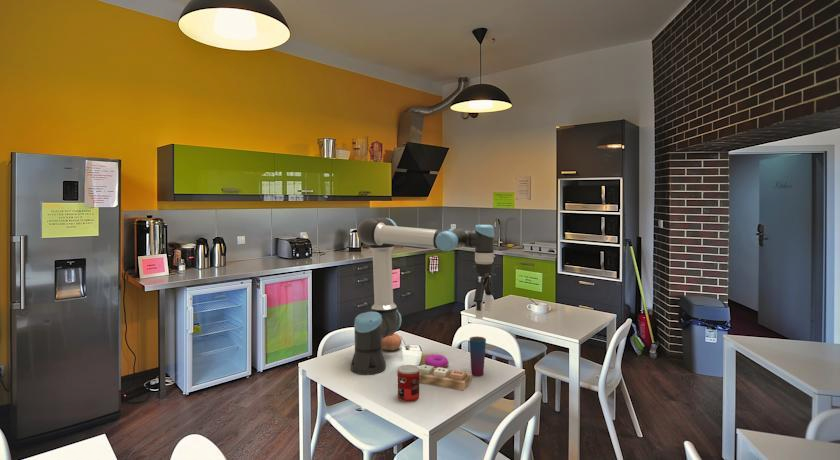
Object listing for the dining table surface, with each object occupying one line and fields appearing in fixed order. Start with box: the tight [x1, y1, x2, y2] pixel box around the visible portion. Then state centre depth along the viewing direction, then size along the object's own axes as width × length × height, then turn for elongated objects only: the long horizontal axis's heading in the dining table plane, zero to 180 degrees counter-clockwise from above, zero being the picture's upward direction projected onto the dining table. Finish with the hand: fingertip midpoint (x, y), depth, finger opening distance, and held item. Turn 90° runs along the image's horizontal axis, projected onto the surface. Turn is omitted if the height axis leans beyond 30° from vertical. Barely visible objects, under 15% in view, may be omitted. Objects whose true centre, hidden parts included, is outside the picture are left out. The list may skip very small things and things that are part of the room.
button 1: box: [418, 364, 434, 375], centre depth 183 cm, size 5×5×2 cm
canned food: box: [397, 364, 420, 403], centre depth 165 cm, size 8×8×11 cm
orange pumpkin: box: [382, 332, 402, 351], centre depth 218 cm, size 11×11×8 cm
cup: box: [469, 335, 487, 377], centre depth 187 cm, size 7×7×15 cm
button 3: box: [450, 369, 467, 381], centre depth 177 cm, size 5×5×2 cm
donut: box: [424, 354, 449, 368], centre depth 196 cm, size 10×10×4 cm
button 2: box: [434, 367, 450, 378], centre depth 180 cm, size 5×5×2 cm
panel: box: [419, 368, 473, 391], centre depth 180 cm, size 22×10×3 cm, turn 66°
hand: (483, 314), depth 183 cm, fingers open, 13 cm apart
